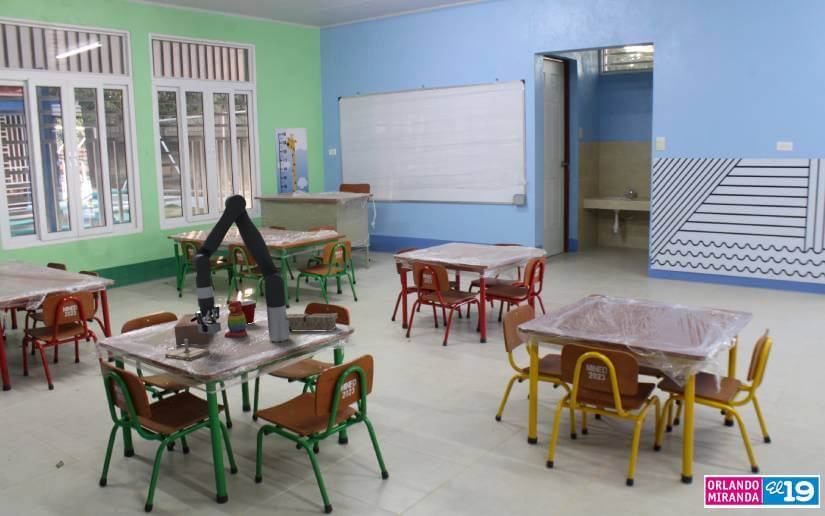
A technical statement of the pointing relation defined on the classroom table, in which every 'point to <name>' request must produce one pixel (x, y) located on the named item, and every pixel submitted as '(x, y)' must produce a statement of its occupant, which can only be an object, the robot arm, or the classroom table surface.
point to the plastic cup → (248, 310)
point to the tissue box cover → (190, 331)
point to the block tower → (312, 321)
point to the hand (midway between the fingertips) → (209, 330)
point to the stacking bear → (236, 320)
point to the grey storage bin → (210, 327)
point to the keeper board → (187, 352)
